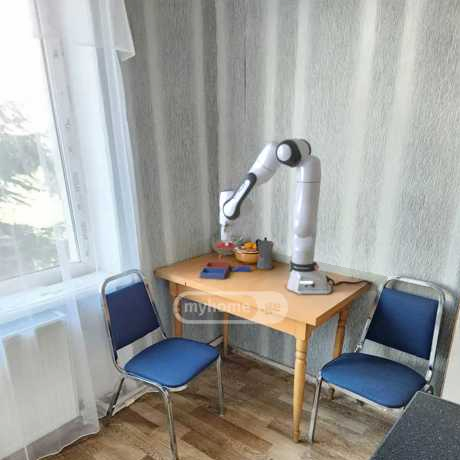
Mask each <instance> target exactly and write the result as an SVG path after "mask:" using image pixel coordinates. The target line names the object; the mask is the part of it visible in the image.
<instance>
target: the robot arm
mask: <svg viewBox="0 0 460 460" xmlns="http://www.w3.org/2000/svg"><path fill="white" fill-rule="evenodd" d="M281 164H282V165H284V166H288V167H289V168H292V169H293V168H295V170H296V181H295V182H296V183H295V184H296V185H295V197H294V205H293V206H294V207H293V216H292V226H291V227H292V231H293V238H292V247H291V260H290V262H289V277H288V280H287V284H286V289H287V290H289V291H292V292H294V293H296V294H298V295H328V294H330V293H331V292H332V286H331V284H330V282H332V285H333V286H338V285H340V284H349V285H355V284H356V285H357V284H360V283H367V284H368V285H369V284H371V283H370V281H368V280H366V279H364V280H363V279H362V280H359V281H345V280H342V281H338V282H337V283H335V280H334V279H332V278H330V276H328V275H325V274H324V273H323V272H322V271H321V270H319V267H320V266H319V265H318V262H317V261H315V253H316V252H315V251H316V241H317V231H318V223H319V222H318V221H319V218H318V212H319V203H320V193H321V183H322V164H321V159H320V158H319V157H318V156H316V155H313V154H312V146H311V144H310V142H309V141H308V140H306V139H303V138H295V137H294V138H289V139H288V138H286V139H283V140H282V141H280V142H279V141H277V140H271V141H269V142H268V143H267V144H266V145H265V146H264V147H263V149H262V150H261V152H259V155H257V158H256V160H255V162H254V163H253V165H252V166H251V168H250V169H249V171H248V172H247V174H246V175H245V176H244V177H243V179H242V180H241V181H240V183H239V185H238V186H237V188H236V189H233V188H230V189H225V190H224V189H223V190H222V191H221V192H220V195H219V224H220V225H221V231H220V240H221V242H225V245H226V246H228V245H229V243H231V242H230V241H231V237H232V235H233V234H234V231H235V225H236V223H237V219H239V218H242V217H245V216H247V215H249V214H251V213H252V211H253V202H252V200H251V199H250V198H249V195H250V194H251V192H252V191H253V190H255V189H256V188H258V187H260V186H261V185H263V184H266V183H268V182H269V181H270V180H271V179H272V178H273V177H274V175H275V174H276V172H277V171H278V169H279V167H280V166H281Z"/></svg>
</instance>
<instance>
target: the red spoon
mask: <svg viewBox="0 0 460 460" xmlns="http://www.w3.org/2000/svg"><path fill="white" fill-rule="evenodd" d="M214 248H215V249H234V248H235V243H234V242H230V243H229V245H228V246H226V245H225V241H221V242H220V244H215V245H214Z"/></svg>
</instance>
